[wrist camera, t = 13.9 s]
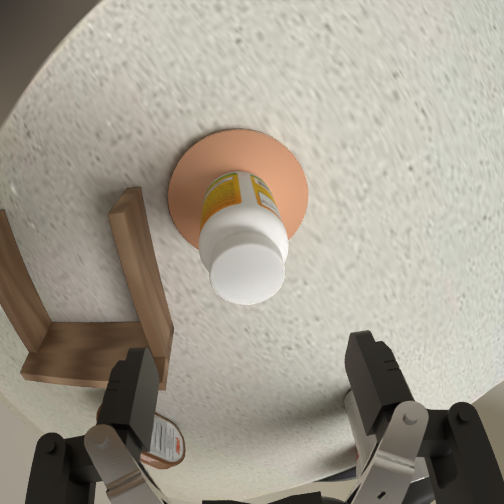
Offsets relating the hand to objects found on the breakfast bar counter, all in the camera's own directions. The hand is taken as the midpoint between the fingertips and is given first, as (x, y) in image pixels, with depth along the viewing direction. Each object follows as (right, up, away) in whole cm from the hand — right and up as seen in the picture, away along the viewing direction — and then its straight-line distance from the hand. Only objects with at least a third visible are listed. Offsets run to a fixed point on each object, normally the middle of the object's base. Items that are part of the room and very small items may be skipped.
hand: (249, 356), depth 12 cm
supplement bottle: (-1, +8, +13) cm, 15 cm away
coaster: (-1, +9, +14) cm, 16 cm away
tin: (-16, -20, +30) cm, 39 cm away
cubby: (-17, +2, +16) cm, 23 cm away
